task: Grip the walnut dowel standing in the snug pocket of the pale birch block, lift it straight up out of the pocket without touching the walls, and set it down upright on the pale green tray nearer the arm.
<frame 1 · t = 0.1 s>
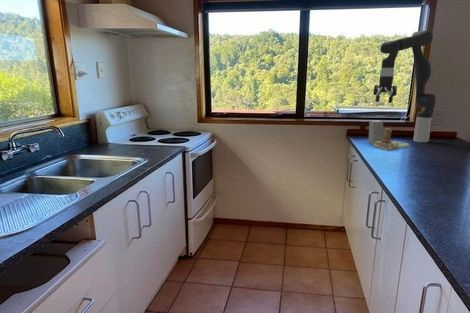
hand: (383, 102, 202), 29 cm above the worktop, tool pointing down, fingers open, 8 cm apart
skincare box: (374, 144, 221), on the worktop
tray: (396, 146, 212), on the worktop
dowel: (385, 147, 207), resting on pocket block
pocket block: (385, 148, 207), on the worktop
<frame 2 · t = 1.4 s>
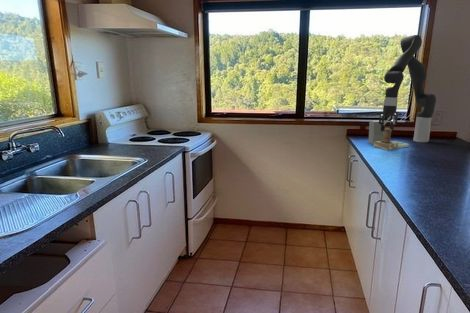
hand: (386, 130, 204), 11 cm above the worktop, tool pointing down, fingers open, 8 cm apart
nothing on the worktop moved.
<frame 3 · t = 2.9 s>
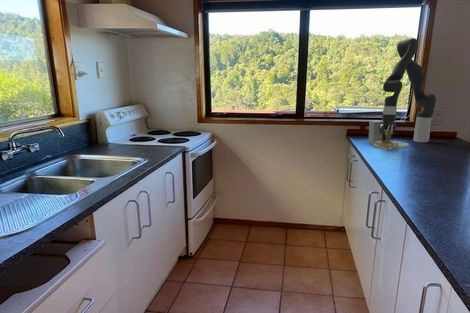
hand: (386, 140, 206), 5 cm above the worktop, tool pointing down, fingers closed on dowel, 4 cm apart
dowel: (385, 147, 207), resting on pocket block, touching gripper
everything else where it was.
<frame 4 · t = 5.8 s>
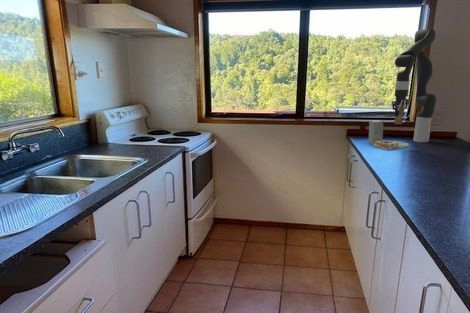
hand: (399, 116, 206), 20 cm above the worktop, tool pointing down, fingers closed on dowel, 4 cm apart
dowel: (398, 123, 208), point 15 cm above the worktop, touching gripper
everything else where it was.
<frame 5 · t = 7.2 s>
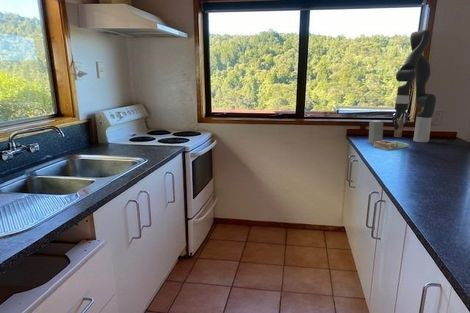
hand: (398, 129, 209), 12 cm above the worktop, tool pointing down, fingers closed on dowel, 4 cm apart
dowel: (397, 136, 211), point 7 cm above the worktop, touching gripper
everything else where it was.
when the fingers open (7 cm above the worktop, at t = 8.5 s): dowel drops 1 cm, resting on tray.
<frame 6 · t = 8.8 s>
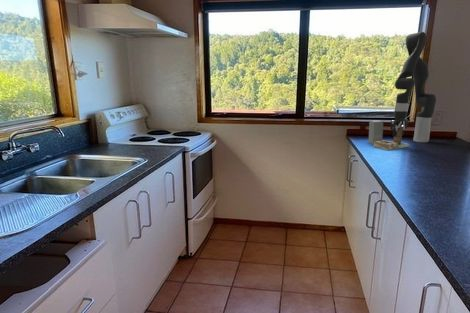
hand: (397, 135, 210), 7 cm above the worktop, tool pointing down, fingers open, 6 cm apart
dowel: (396, 145, 212), point 1 cm above the worktop, touching tray
everything else where it was.
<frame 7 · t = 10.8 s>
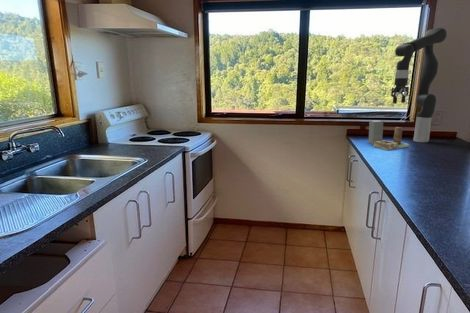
hand: (398, 103, 211), 28 cm above the worktop, tool pointing down, fingers open, 8 cm apart
nothing on the worktop moved.
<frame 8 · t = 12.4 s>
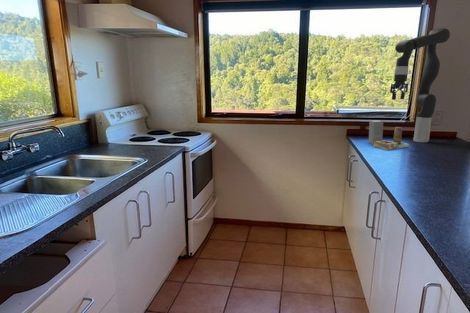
hand: (397, 99, 212), 30 cm above the worktop, tool pointing down, fingers open, 8 cm apart
nothing on the worktop moved.
at the end: dowel inside the target area on the tray (0.1 cm from its centre), point 0.6 cm above the tray's base; dowel tilted 1°; the gripper is holding nothing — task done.
